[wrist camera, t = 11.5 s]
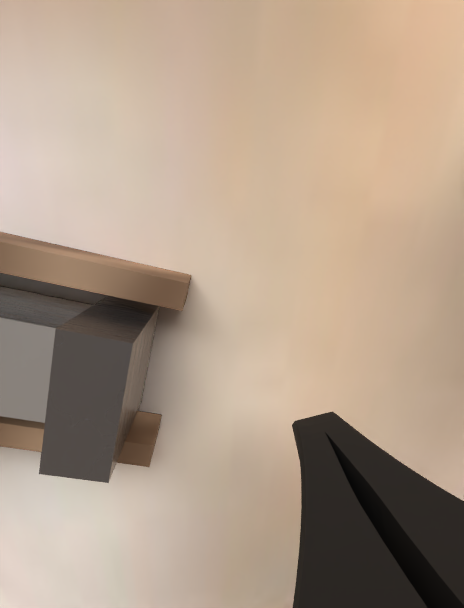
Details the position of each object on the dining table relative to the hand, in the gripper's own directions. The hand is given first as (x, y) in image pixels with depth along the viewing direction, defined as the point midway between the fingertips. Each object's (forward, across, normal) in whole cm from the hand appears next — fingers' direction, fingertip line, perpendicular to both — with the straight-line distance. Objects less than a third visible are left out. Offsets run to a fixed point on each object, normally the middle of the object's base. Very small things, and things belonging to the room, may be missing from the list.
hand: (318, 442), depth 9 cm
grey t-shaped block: (+4, +9, -4) cm, 11 cm away
